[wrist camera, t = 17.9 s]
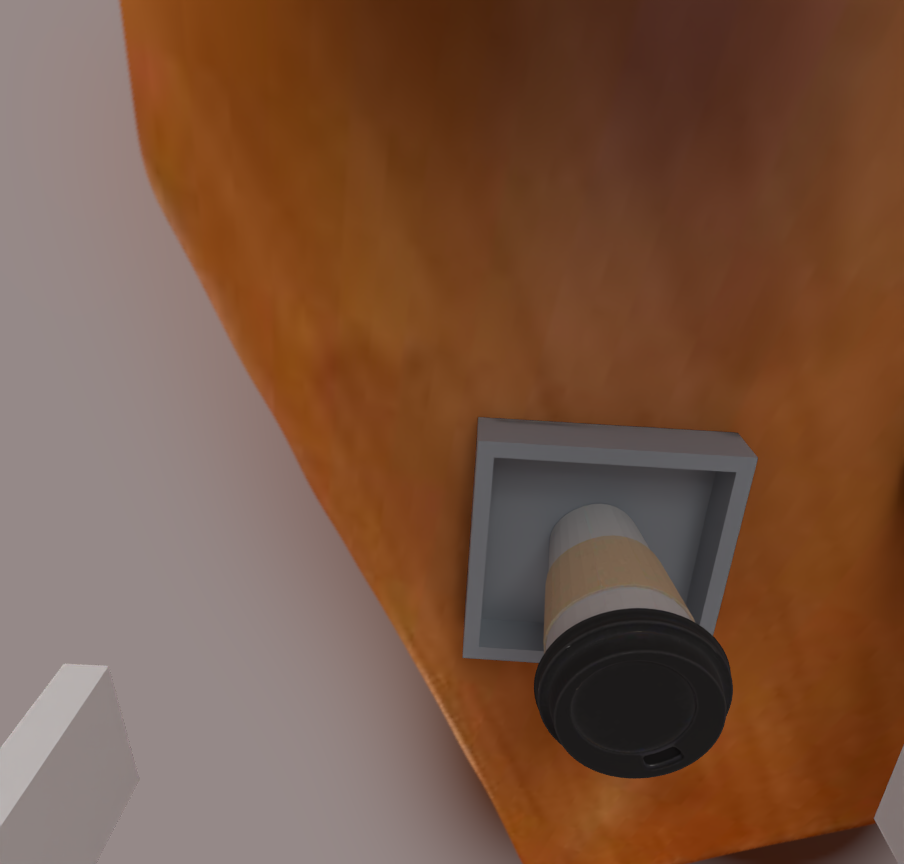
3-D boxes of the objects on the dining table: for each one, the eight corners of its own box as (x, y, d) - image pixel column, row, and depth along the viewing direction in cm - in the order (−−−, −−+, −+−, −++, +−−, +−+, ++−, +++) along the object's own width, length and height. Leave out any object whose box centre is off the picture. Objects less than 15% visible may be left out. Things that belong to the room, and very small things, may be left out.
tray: (478, 417, 43) (477, 440, 40) (737, 432, 43) (757, 457, 40) (464, 623, 50) (462, 657, 47) (689, 638, 50) (703, 673, 46)
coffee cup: (605, 621, 49) (651, 817, 35) (493, 554, 47) (496, 734, 33) (697, 525, 45) (789, 701, 32) (581, 450, 43) (625, 601, 30)
